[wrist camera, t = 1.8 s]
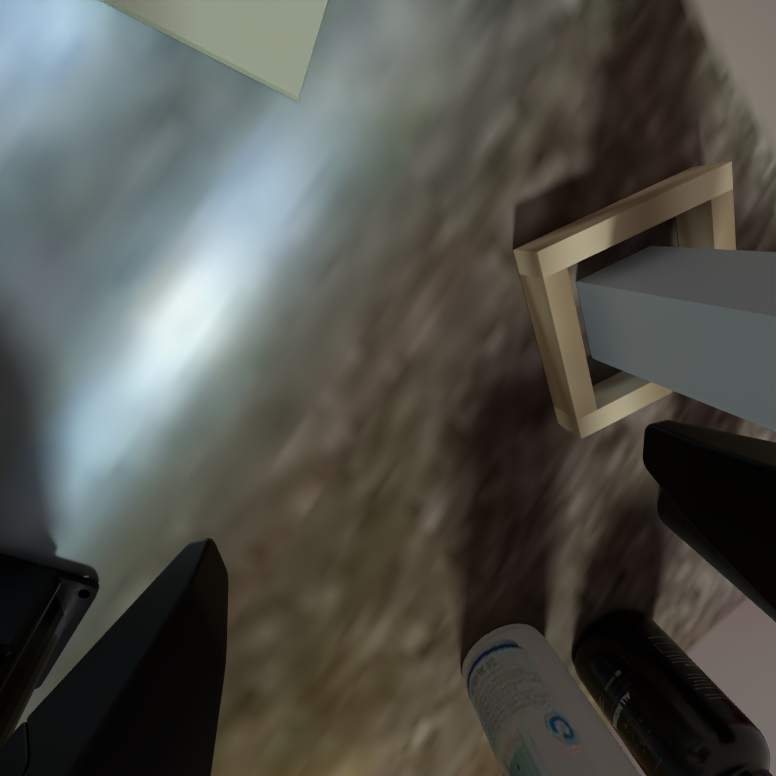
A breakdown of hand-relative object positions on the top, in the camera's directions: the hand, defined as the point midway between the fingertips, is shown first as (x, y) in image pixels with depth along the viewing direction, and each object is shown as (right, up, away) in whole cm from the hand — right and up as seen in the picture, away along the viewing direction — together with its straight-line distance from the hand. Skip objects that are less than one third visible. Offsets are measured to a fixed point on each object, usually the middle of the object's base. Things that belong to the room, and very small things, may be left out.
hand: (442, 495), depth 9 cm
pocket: (+11, +7, +14) cm, 19 cm away
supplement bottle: (+15, -17, +24) cm, 33 cm away
